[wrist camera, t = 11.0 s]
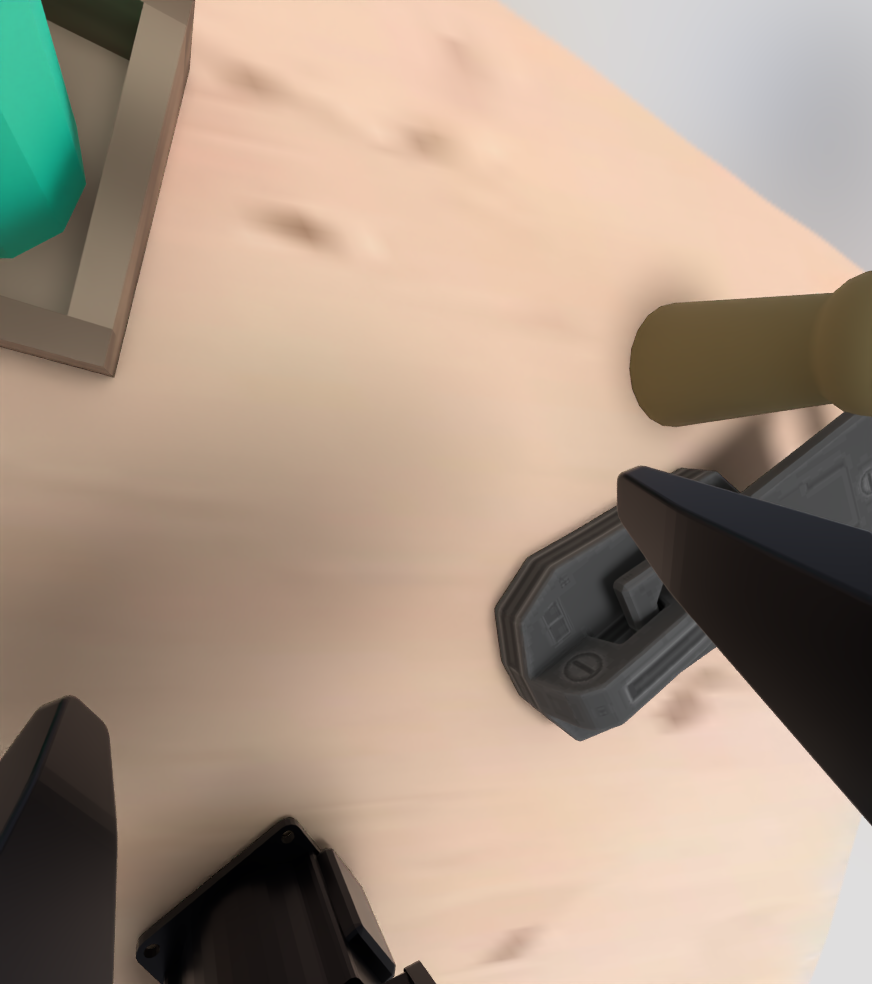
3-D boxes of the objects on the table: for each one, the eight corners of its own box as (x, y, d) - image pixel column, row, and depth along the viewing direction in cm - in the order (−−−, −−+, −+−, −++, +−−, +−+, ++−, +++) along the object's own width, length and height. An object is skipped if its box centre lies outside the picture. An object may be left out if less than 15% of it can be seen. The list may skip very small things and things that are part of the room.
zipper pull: (973, 493, 30) (649, 835, 22) (837, 481, 36) (544, 746, 28) (947, 332, 27) (564, 656, 19) (805, 348, 33) (468, 600, 25)
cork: (703, 438, 30) (970, 446, 20) (618, 411, 27) (878, 405, 17) (728, 324, 30) (1009, 276, 20) (644, 285, 27) (922, 207, 17)
